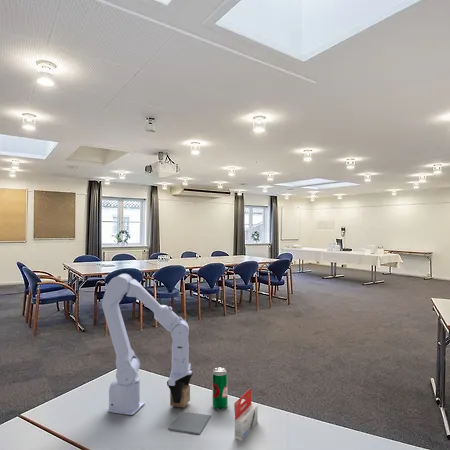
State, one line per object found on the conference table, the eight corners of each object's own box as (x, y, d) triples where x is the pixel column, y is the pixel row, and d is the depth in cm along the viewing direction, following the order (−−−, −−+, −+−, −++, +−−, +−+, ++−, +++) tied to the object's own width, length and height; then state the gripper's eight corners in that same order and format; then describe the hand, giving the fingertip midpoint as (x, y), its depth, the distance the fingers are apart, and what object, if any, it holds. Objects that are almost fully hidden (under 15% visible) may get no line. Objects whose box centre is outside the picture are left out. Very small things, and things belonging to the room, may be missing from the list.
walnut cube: (170, 405, 111) (170, 390, 111) (176, 398, 116) (176, 383, 116) (184, 407, 110) (184, 391, 110) (189, 400, 114) (189, 385, 115)
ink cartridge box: (258, 422, 102) (257, 389, 103) (241, 441, 93) (241, 405, 93) (250, 420, 104) (250, 387, 104) (233, 439, 94) (233, 403, 94)
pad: (167, 429, 99) (167, 428, 99) (181, 412, 108) (181, 411, 108) (199, 434, 96) (199, 433, 96) (210, 416, 106) (210, 415, 106)
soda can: (226, 410, 109) (225, 373, 109) (210, 409, 110) (210, 372, 110) (228, 403, 114) (228, 367, 114) (214, 401, 115) (214, 366, 115)
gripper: (182, 366, 105) (182, 410, 105) (198, 351, 119) (198, 390, 119) (162, 364, 107) (162, 407, 107) (180, 349, 121) (180, 388, 121)
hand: (180, 398), depth 113 cm, fingers closed on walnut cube, 5 cm apart
